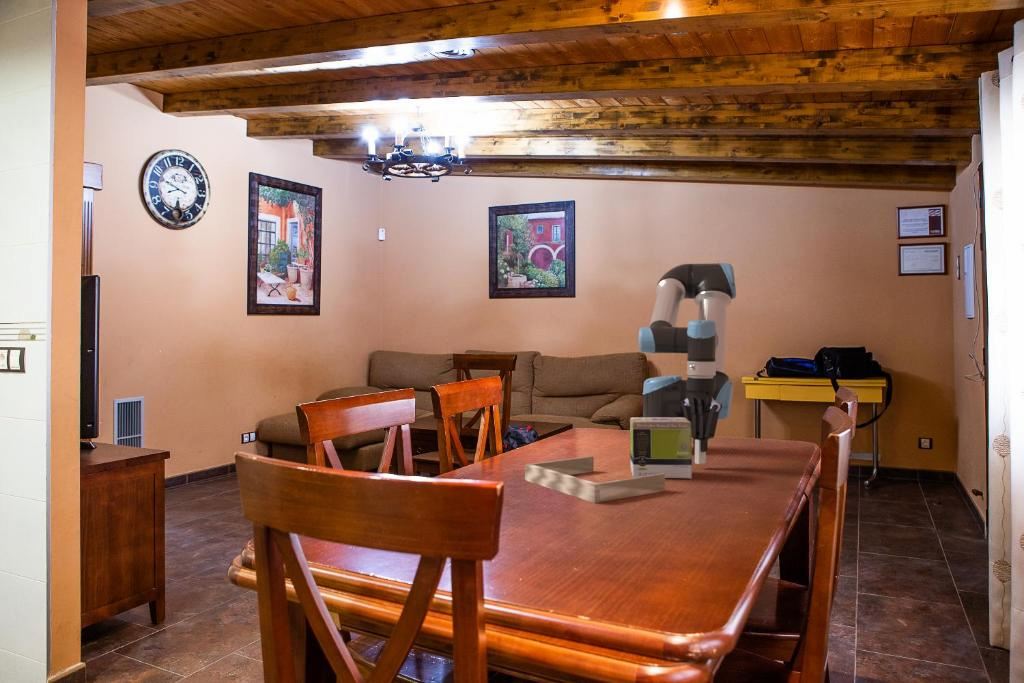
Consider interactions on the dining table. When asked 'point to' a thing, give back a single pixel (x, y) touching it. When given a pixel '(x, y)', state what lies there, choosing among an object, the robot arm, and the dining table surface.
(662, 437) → the tea box
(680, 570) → the dining table surface
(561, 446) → the dining table surface
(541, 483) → the corral
